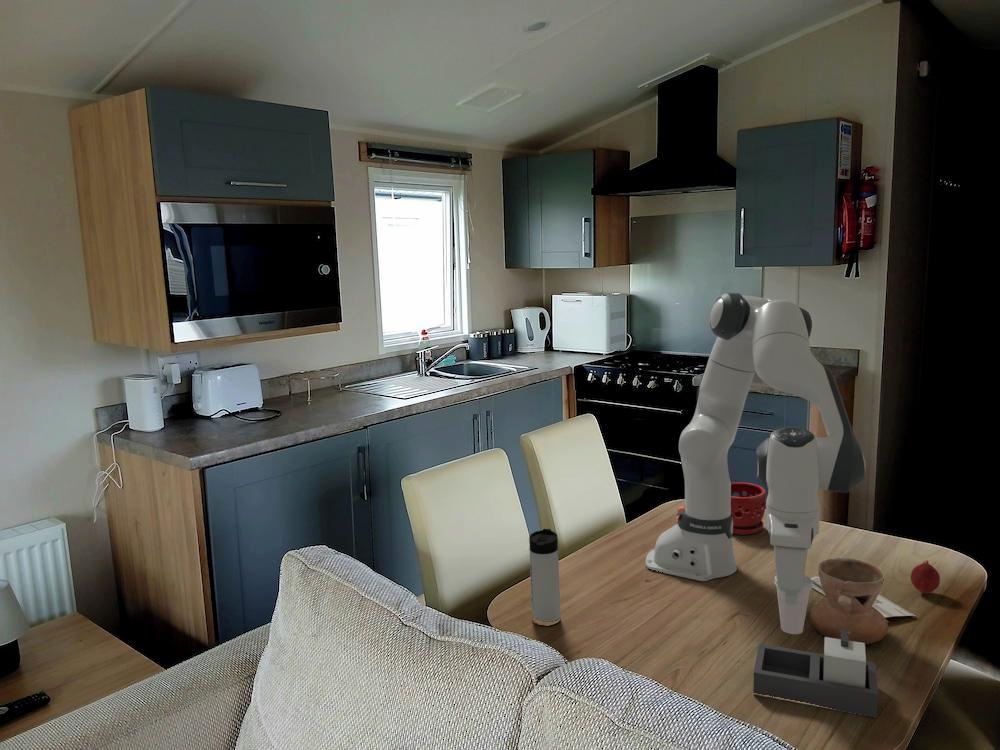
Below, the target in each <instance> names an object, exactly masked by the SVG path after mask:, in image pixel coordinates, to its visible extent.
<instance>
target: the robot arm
mask: <svg viewBox="0 0 1000 750" xmlns="http://www.w3.org/2000/svg"><path fill="white" fill-rule="evenodd" d="M709 316H710V317H709V326H710V329H711V332H712V333H713V334H714V336H717V337H716V340H715V341H714V344H713V346H712V348H711V352H710V355H709V357H708V360H707V364H706V367H705V370H704V373H703V376H702V379H701V382H700V385H699V392H698V397H697V401H696V402H697V403H696V407H695V411H694V414H693V416H692V419H691V421H690V422H689V424H687V426H686V427H685V428H684V429H683V430H682V431H681V433H680V436H679V440H678V452H679V455H680V460H681V466H682V467H681V468H682V472H683V479H684V506H683V505H681V506H680V507H679V508H678V510H677V514H676V524H674V525H673V526H671V527H670V528H668V529H667V530H665V531H663V532H662V533H661V534H660V535H659V537H658V538H657V539H656V542H655V545H654V548H653V549H651V550H650V551H649V552H648V553H647V555H646V557H645V563H646V564H645V567H646V566H647V567H648V568H649V569H652V570H651V571H653V570H656V571H655V572H658V571H659V572H658V573H662V572H663V573H662V574H667V575H672V576H677V577H682V578H685V579H690V580H695V581H699V582H708V581H710V580H713V579H718V578H724V577H725V578H726V577H727V576H731V575H733V574H734V573H736V572H737V570H738V565H737V561H736V558H735V557H736V556H735V554H734V549H733V548H734V547H733V540H732V539H733V538H732V537H733V534H734V533H733V515H732V513H731V483H732V482H731V480H730V473H729V467H728V465H729V464H728V453H729V449H730V448H731V446H732V445H733V443H734V441H735V438H736V435H737V433H738V432H737V431H738V428H739V426H740V422H741V418H742V414H743V411H744V407H745V403H746V400H747V396H748V394H749V391H750V387H751V385H752V382H753V380H754V376H755V375H757V377H758V378H759V379H760V380H761V381H762V382H763V383H764V384H765V385H767V386H768V387H770V388H773V389H774V390H775V391H776V390H777V391H779V392H782V393H786V394H790V395H793V396H797V397H799V398H802V399H805V400H807V401H808V402H810V403H812V404H813V405H814V406H815V407H816V408H817V409H818V410H819V412H820V413H819V414H820V416H821V420H822V423H823V427H824V429H825V433H826V436H824V437H819V436H816V435H815V434H814V433H813V432H811V431H810V430H808V429H806V428H802V427H796V426H786V427H785V426H784V427H780V428H777V429H775V430H774V431H772V432H771V434H770V436H769V437H767V438H766V439H764V440H763V441H762V442H761V443H760V444H759V445H757V447H756V449H755V451H756V457H757V471H756V475H755V477H756V478H757V479H758V481H760V483H761V484H763V486H765V487H766V488H767V489H768V493H767V495H766V506H765V528H766V531H768V534H769V541H770V545H771V546H773V551H774V563H775V564H774V566H775V574H776V575H777V582H778V587H779V589H780V590H782V591H785V602H786V604H789V605H795V604H796V595H797V592H800V591H801V589H802V585H803V579H804V575H805V572H806V571H805V570H806V569H805V568H806V563H807V557H808V551H809V549H811V548H812V546H813V542H814V541H813V540H814V538H815V537H816V536H817V535H818V534H819V533H820V501H819V498H818V490H819V491H820V490H823V491H829V492H836V493H846V494H847V493H849V492H850V491H853V490H854V489H855V488H857V487H858V486H859V485H860V484H861V483H862V482H863V481H864V479H865V475H866V460H865V455H864V453H863V451H862V448H861V446H860V444H859V442H858V439H857V437H856V435H855V433H854V431H853V428H852V424H851V422H850V419H849V416H848V412H847V410H846V406H845V404H844V402H843V398H842V395H841V392H840V390H839V387H838V384H837V381H836V379H835V377H834V374H833V373H832V371H831V370H830V368H829V367H827V366H826V365H824V364H822V363H820V362H819V360H818V359H817V358H815V357H814V355H813V353H812V351H811V350H812V349H811V345H810V337H811V334H812V331H813V321H812V317H811V314H810V312H809V311H807V310H806V309H805V308H803V307H800V306H798V305H797V304H796V303H795V302H793V301H791V300H788V299H772V298H769V297H759V296H754V295H747V294H746V295H744V294H741V293H736V292H726V293H723V294H721V295H720V296H719V297H718V298H717V299H716V300H715V302H714V304H713V307H712V308H711V310H710V315H709ZM755 373H756V374H755ZM647 567H646V568H647ZM648 568H647V569H648ZM649 569H648V570H649ZM776 575H775V576H776Z"/></svg>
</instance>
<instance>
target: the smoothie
mask: <svg viewBox="0 0 1000 750" xmlns="http://www.w3.org/2000/svg"><path fill="white" fill-rule="evenodd" d="M810 578H811V577H810V576H808V575H806V574H804V579H803V585H802V589H801V591H800V592H797V595H796V604H795V605H789V604H786V602H785V591H782V590H780V589H779V587H778V582H777V575H775V576H774V585H775V586H776V592H777V601H778V602H777V603H778V604H777V605H778V611H779V619H780V620H779V621H780V629H781V631H783V632H784V633H787V634H790V635H800V634H802V633H803V632H804V626H805V620H806V615H807V608H808V604H809V598H810V592H811V590H812V589H813V588H812V587H813V586H812V583H813V582H812V580H811V579H810Z"/></svg>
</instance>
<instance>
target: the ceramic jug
mask: <svg viewBox="0 0 1000 750" xmlns="http://www.w3.org/2000/svg"><path fill="white" fill-rule="evenodd" d="M817 569H818V576H819V577H820V581H821V585H822V588H823V591H824V593H825V595H826V596H825V595H824V596H825V598H826V599H823V600H821V601H819V602H817V603H815V605H814V606H813V607H812V609H811V611H810V616H809V617H810V621H811V623H812V625H813V626H814V628H815V629H816V630H817V632H818V633H820V634H821V635H823V636H824V637H829V638H835V639H841V629H842V630H848V641H855V642H861V643H865V645H870V644H875V643H877V642H879V641H881V640H882V639H884V637H885V636H886V635H887V633H888V630H889V624H888V623H887V621H888V620H887V619H886V618H885V617H884V616H883V615H882V614H881V613H880V612H879V611H878V610H876V609H875V608H874V607H872V605H873V603H874V602H875V600H876V598H877V596H878V594H880V592H881V589H882V588H883V585H884V582H885V573H884V572H883V570H881V569H880V568H879V567H877V566H875V565H874V564H872V563H870V562H868V561H862V560H860V559H856V558H847V557H846V558H845V557H844V558H842V557H834V558H828V559H825V560H822V561H821V562H820V563H818V568H817ZM886 620H887V621H886Z"/></svg>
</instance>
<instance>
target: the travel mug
mask: <svg viewBox="0 0 1000 750" xmlns="http://www.w3.org/2000/svg"><path fill="white" fill-rule="evenodd" d="M528 539H529V540H528V543H529V567H530V568H529V569H530V574H529V575H530V596H531V616H532V617H533V618H534V619H536V620H538V621H542V622H553V621H557V620H558V619H559V618H560V619H561V599H560V597H561V595H560V592H561V591H560V570H559V569H560V568H559V567H560V566H559V565H560V563H559V546H558V544H559V543H558V542H559V541H558V539H559V538H558V534H557V533H556V532H555V531H553V530H552V529H551V528H543V529H541V530H537V531H534V532H532V533H530V535H529V537H528ZM532 617H531V618H532Z"/></svg>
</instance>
